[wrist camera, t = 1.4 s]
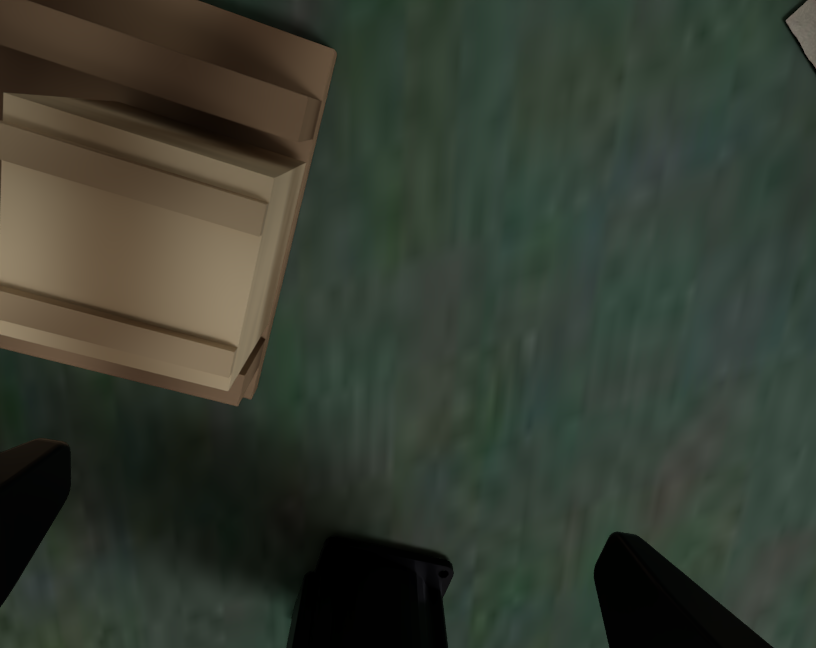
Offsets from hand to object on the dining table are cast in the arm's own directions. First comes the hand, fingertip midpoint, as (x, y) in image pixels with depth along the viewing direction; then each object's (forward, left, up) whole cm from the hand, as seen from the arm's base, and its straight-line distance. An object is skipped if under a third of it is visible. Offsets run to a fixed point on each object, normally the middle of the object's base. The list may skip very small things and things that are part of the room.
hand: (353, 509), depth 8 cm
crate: (+6, -1, -11) cm, 13 cm away
